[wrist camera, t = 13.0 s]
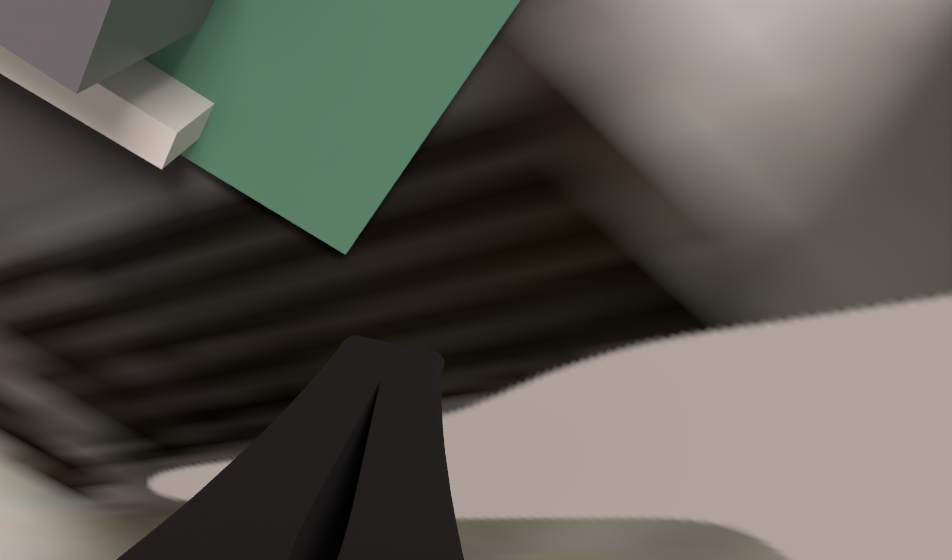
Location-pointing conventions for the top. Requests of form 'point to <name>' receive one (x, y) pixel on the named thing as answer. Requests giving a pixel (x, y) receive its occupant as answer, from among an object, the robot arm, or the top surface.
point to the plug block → (94, 34)
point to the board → (292, 98)
